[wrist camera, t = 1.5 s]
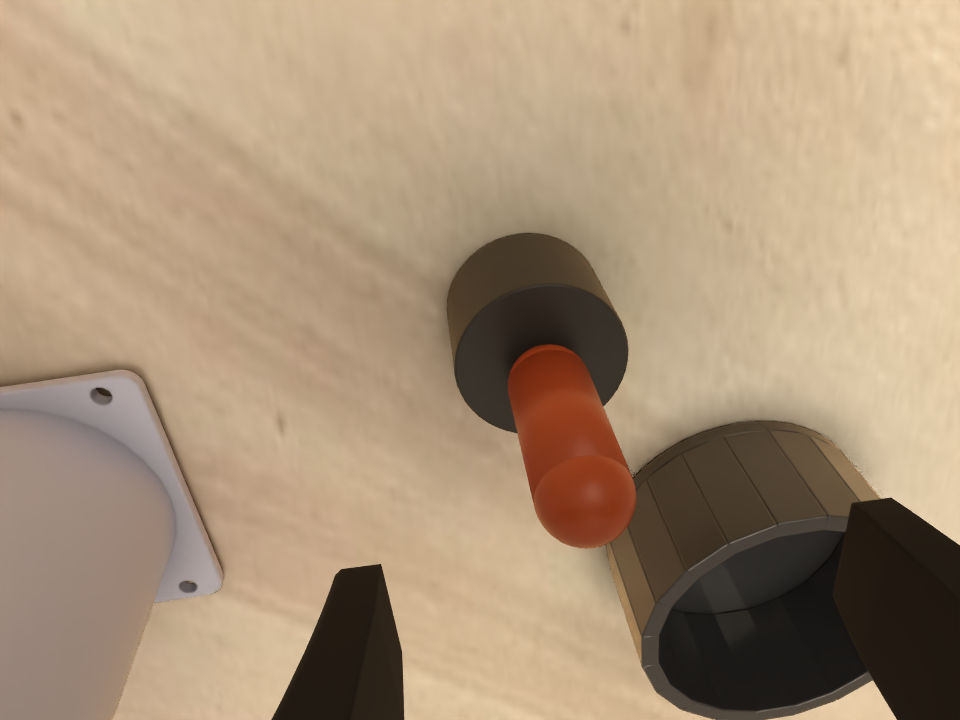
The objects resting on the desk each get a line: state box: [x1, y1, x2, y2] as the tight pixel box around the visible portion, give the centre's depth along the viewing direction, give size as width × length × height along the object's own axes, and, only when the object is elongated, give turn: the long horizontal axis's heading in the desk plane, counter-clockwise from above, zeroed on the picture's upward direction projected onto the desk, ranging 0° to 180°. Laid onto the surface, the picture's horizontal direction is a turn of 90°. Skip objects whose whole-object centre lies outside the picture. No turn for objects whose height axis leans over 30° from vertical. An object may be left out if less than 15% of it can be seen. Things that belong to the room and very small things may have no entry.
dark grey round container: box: [606, 421, 881, 720], centre depth 23 cm, size 8×8×4 cm
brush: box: [447, 233, 636, 549], centre depth 16 cm, size 4×4×8 cm
